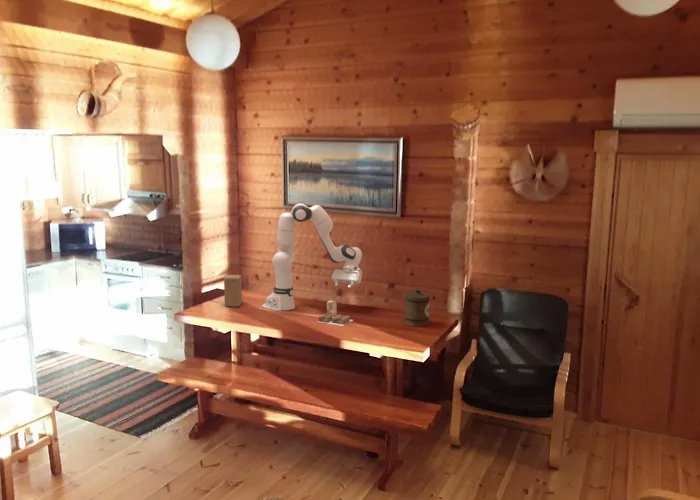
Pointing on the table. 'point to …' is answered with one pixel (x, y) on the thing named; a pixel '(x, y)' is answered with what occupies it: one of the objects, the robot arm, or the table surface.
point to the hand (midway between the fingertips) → (342, 287)
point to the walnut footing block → (325, 318)
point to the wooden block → (233, 290)
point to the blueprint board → (335, 323)
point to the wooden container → (417, 308)
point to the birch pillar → (332, 308)
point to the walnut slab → (340, 319)
